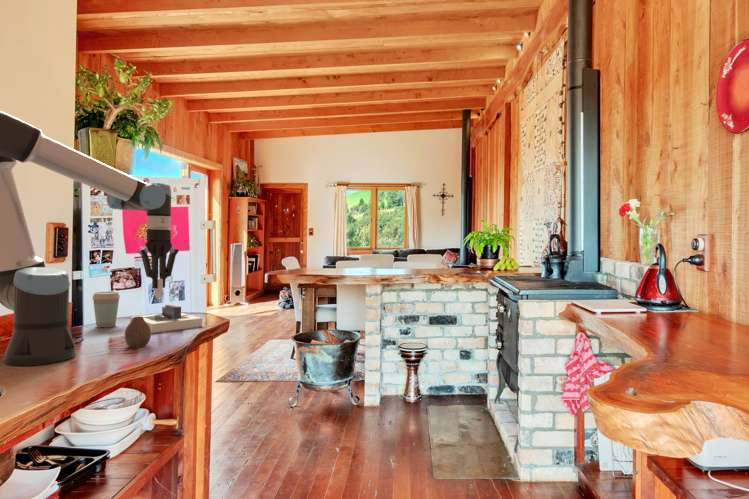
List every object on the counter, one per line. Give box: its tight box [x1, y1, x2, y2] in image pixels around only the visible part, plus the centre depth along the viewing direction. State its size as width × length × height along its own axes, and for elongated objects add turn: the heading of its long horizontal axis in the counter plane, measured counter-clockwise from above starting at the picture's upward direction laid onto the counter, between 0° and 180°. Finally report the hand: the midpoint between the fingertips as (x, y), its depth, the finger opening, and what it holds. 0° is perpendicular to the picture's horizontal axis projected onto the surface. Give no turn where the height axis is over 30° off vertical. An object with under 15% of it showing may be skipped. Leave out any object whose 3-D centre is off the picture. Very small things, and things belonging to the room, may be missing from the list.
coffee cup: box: [91, 291, 121, 328], centre depth 164 cm, size 8×8×12 cm
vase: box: [124, 316, 152, 349], centre depth 137 cm, size 7×7×9 cm
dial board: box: [129, 312, 203, 334], centre depth 168 cm, size 18×18×3 cm
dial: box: [154, 304, 182, 322], centre depth 167 cm, size 12×8×6 cm, turn 49°
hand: (158, 297), depth 159 cm, fingers closed
